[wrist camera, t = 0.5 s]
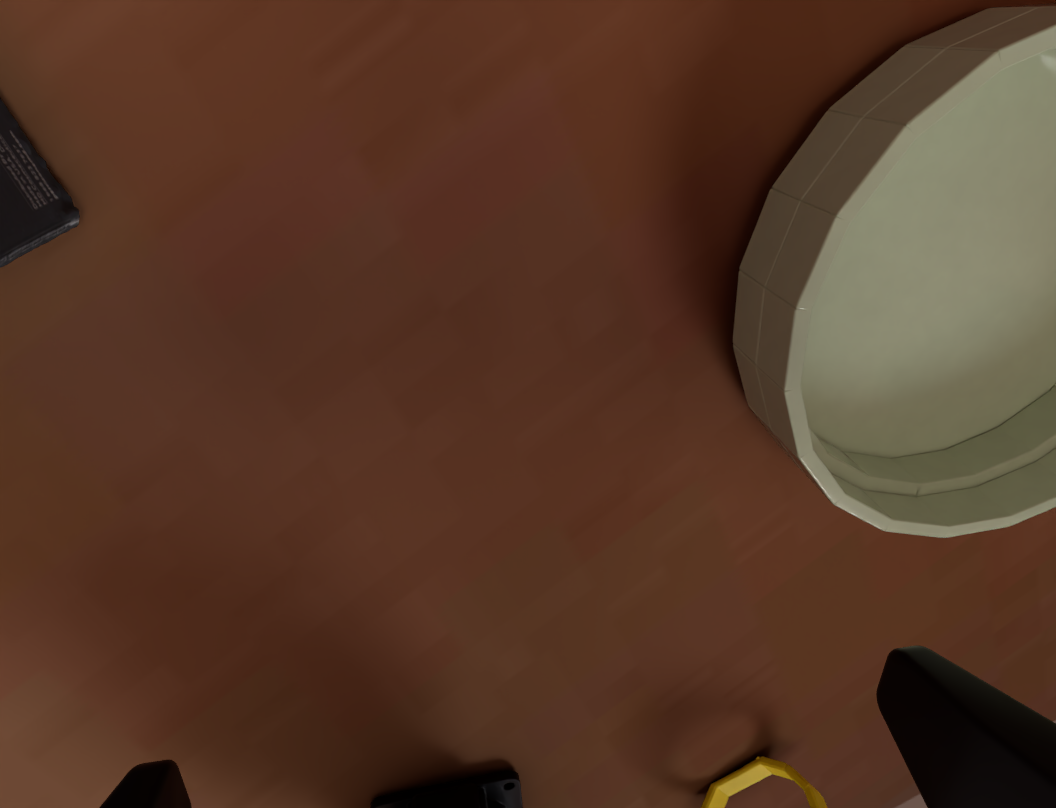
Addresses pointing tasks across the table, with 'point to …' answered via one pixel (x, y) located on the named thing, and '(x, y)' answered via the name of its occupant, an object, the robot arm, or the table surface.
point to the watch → (754, 773)
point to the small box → (28, 195)
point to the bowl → (918, 286)
